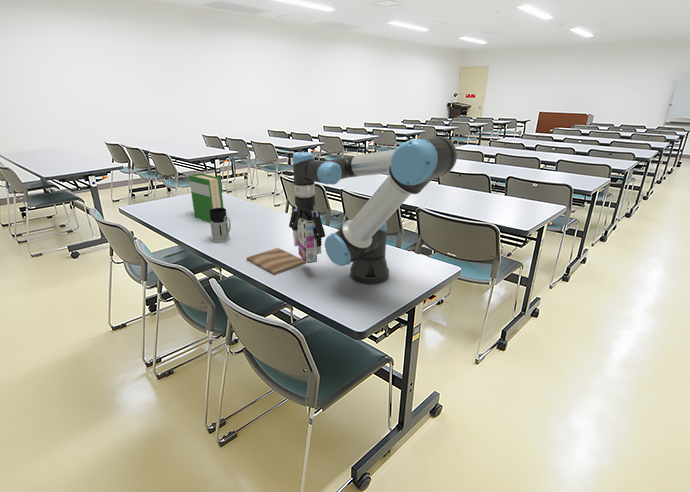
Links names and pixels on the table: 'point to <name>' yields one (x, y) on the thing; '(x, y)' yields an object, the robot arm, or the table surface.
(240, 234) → the table surface
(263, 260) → the walnut board
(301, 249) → the candy bar box
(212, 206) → the hardback book
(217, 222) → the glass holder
